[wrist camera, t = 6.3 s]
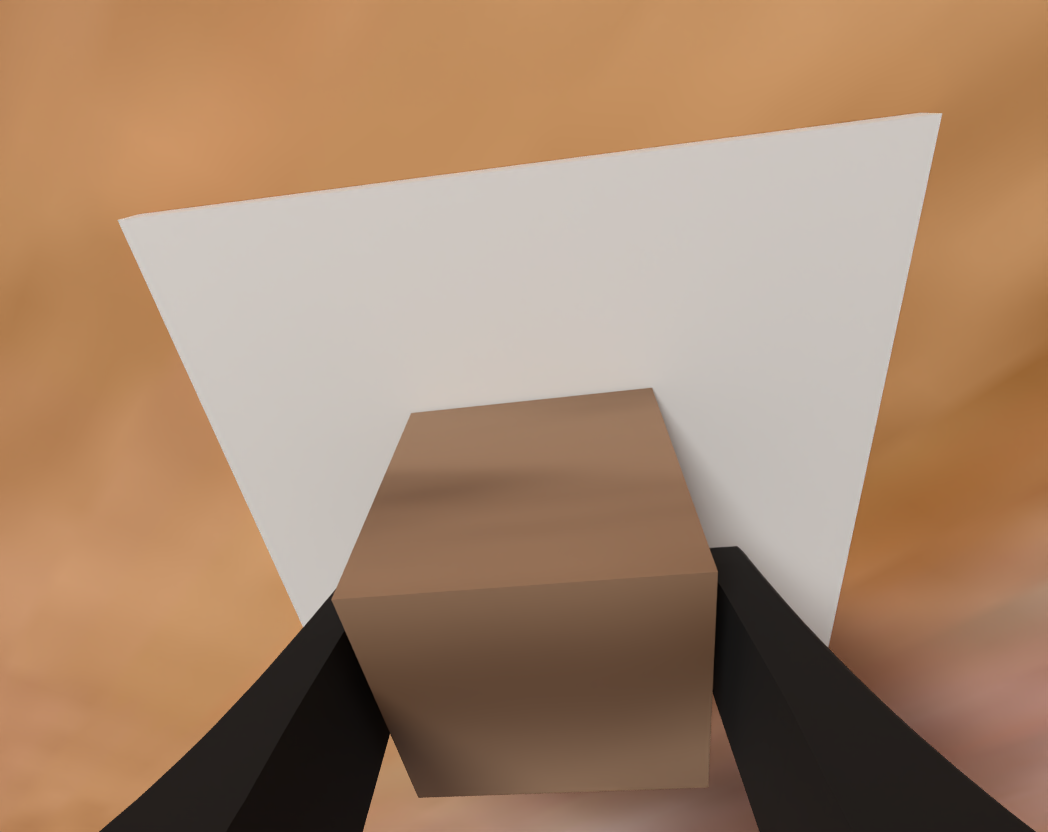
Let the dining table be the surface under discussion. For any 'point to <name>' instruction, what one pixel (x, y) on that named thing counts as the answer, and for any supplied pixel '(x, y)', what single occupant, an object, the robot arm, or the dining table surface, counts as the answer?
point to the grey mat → (562, 327)
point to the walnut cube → (537, 601)
